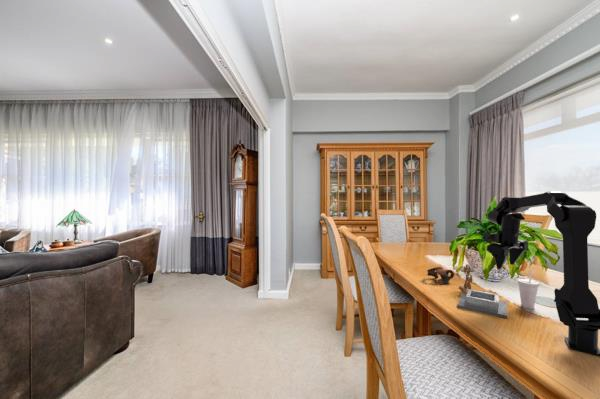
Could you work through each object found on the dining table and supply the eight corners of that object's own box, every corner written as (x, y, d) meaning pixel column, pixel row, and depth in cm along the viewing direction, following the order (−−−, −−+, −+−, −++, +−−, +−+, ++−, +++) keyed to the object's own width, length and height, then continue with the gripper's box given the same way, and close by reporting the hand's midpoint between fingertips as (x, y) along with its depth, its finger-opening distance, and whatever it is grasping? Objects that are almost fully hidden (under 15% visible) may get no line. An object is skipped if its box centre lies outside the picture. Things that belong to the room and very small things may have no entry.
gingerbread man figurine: (476, 295, 114) (477, 267, 113) (466, 294, 114) (467, 266, 114) (468, 288, 122) (468, 262, 122) (459, 287, 123) (459, 261, 123)
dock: (507, 318, 92) (507, 307, 92) (457, 307, 101) (457, 296, 101) (506, 304, 104) (506, 294, 104) (461, 295, 113) (462, 286, 113)
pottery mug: (433, 285, 127) (426, 268, 131) (430, 288, 135) (424, 272, 139) (459, 280, 125) (452, 263, 129) (454, 283, 133) (448, 267, 137)
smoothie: (543, 310, 99) (543, 273, 98) (523, 309, 100) (524, 272, 100) (531, 303, 105) (532, 268, 105) (513, 302, 106) (513, 267, 106)
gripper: (500, 221, 115) (496, 256, 118) (474, 227, 107) (470, 263, 110) (531, 227, 106) (526, 265, 108) (505, 234, 97) (501, 274, 100)
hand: (505, 266), depth 107 cm, fingers open, 9 cm apart
